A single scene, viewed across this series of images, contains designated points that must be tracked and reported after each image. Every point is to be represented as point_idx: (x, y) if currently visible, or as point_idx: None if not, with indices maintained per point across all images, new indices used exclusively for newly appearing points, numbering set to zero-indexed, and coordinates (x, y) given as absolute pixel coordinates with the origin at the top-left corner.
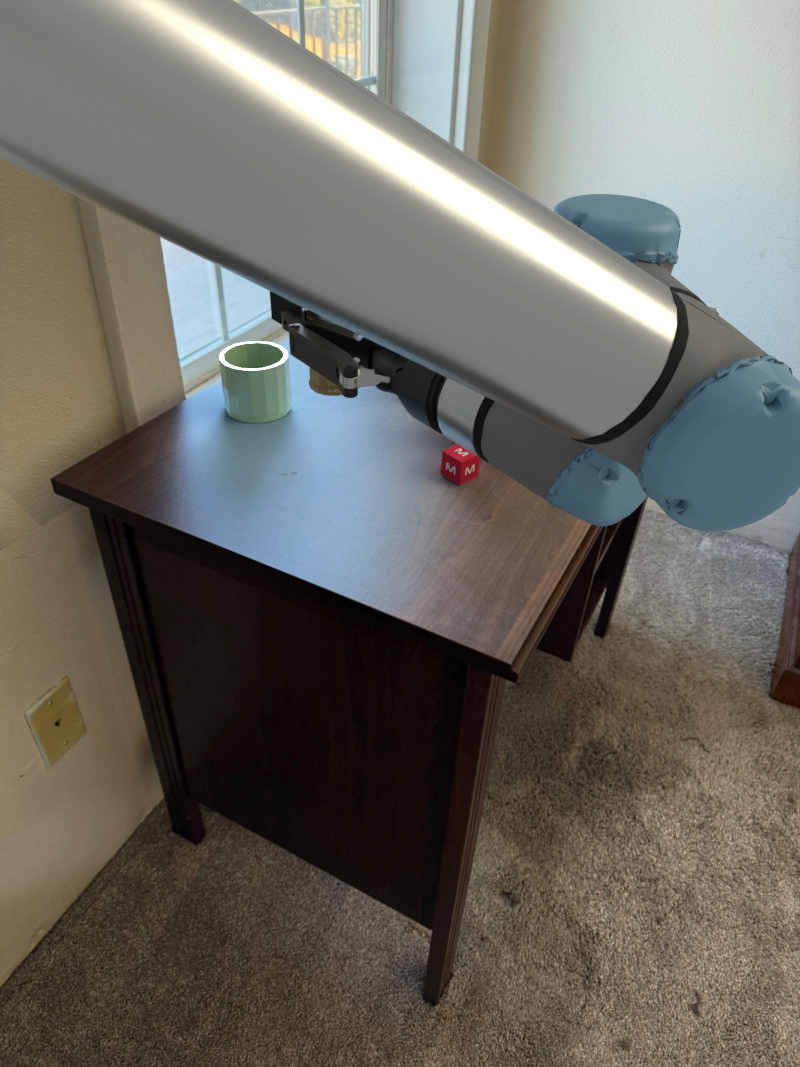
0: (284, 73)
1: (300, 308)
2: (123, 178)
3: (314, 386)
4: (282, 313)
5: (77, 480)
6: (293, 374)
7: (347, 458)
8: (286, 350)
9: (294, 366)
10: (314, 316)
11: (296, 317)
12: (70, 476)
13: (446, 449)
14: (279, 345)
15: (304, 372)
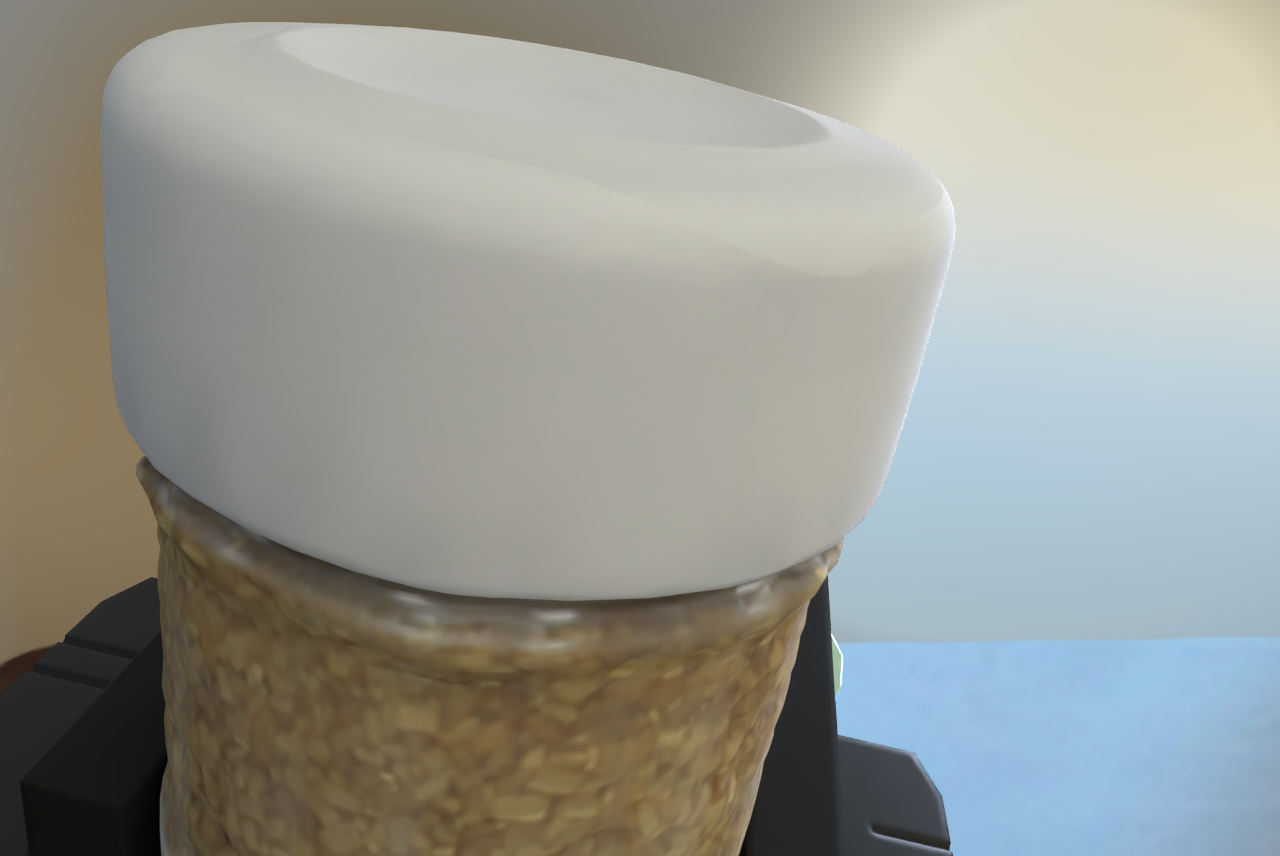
0: None
1: (148, 655)
2: None
3: None
4: (111, 599)
5: (5, 682)
6: (899, 744)
7: None
8: (838, 684)
9: (928, 719)
10: (79, 840)
11: (63, 713)
12: (20, 659)
13: None
14: (839, 651)
15: (938, 759)
